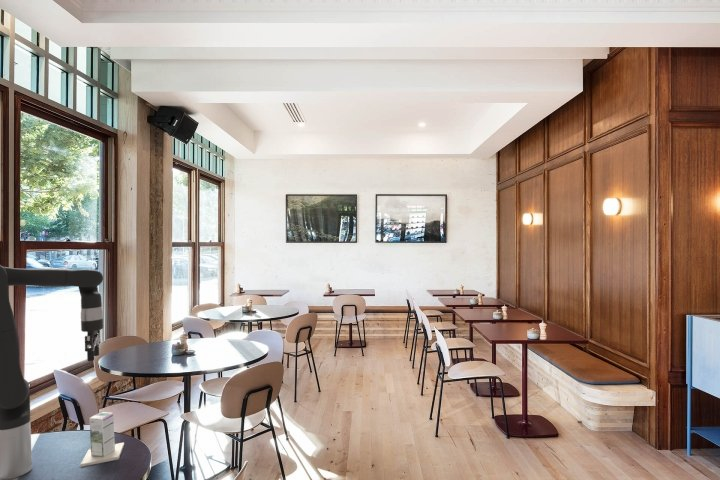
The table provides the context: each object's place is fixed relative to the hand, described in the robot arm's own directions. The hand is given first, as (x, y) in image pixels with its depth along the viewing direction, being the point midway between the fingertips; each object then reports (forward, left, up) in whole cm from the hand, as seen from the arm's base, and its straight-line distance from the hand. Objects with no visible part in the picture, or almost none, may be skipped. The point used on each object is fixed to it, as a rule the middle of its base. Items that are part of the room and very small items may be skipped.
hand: (93, 358), depth 167 cm
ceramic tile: (+5, -14, -34) cm, 37 cm away
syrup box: (+5, -14, -33) cm, 37 cm away
